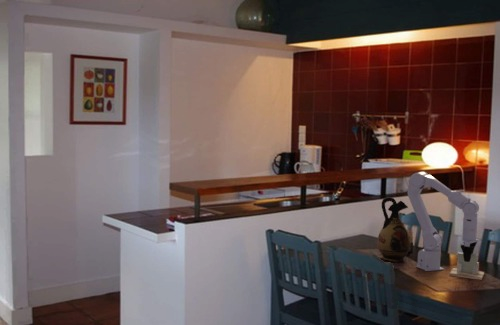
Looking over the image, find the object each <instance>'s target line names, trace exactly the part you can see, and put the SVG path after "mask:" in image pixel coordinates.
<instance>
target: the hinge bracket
mask: <svg viewBox="0 0 500 325" xmlns="http://www.w3.org/2000/svg"><path fill="white" fill-rule="evenodd" d="M479 263H480V262H478V261H477V265H473V271H472V273H468V272H462V263H456V267H453V268H452V269H451V271H450V272H449V276H451V277H452V276H453V277H456V278H457V277H458V278H466V279H472V280H479V281H480V280H481V281H482V280H483V278H484V277H485V276H484V275H485V271H479V268H480V267H479V266H480V264H479Z"/></svg>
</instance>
